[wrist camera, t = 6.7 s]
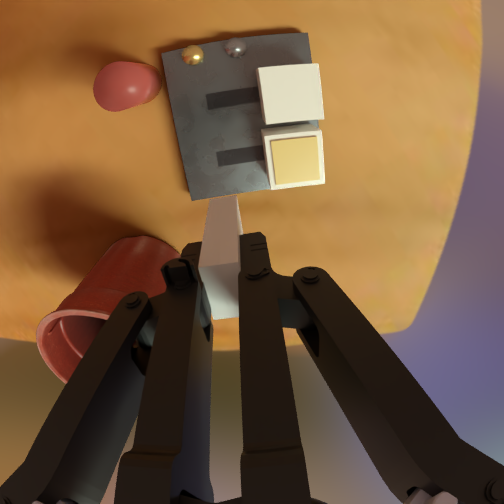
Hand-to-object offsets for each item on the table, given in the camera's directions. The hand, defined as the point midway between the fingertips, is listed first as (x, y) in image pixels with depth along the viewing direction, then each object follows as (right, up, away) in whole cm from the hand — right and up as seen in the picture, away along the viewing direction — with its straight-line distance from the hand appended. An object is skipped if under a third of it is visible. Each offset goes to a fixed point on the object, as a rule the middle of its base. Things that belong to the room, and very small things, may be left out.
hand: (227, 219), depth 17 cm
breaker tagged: (+5, +8, +12) cm, 15 cm away
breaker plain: (+5, +13, +9) cm, 16 cm away
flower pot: (-13, -5, +21) cm, 25 cm away
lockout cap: (-10, +15, +9) cm, 20 cm away
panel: (+1, +12, +11) cm, 17 cm away
